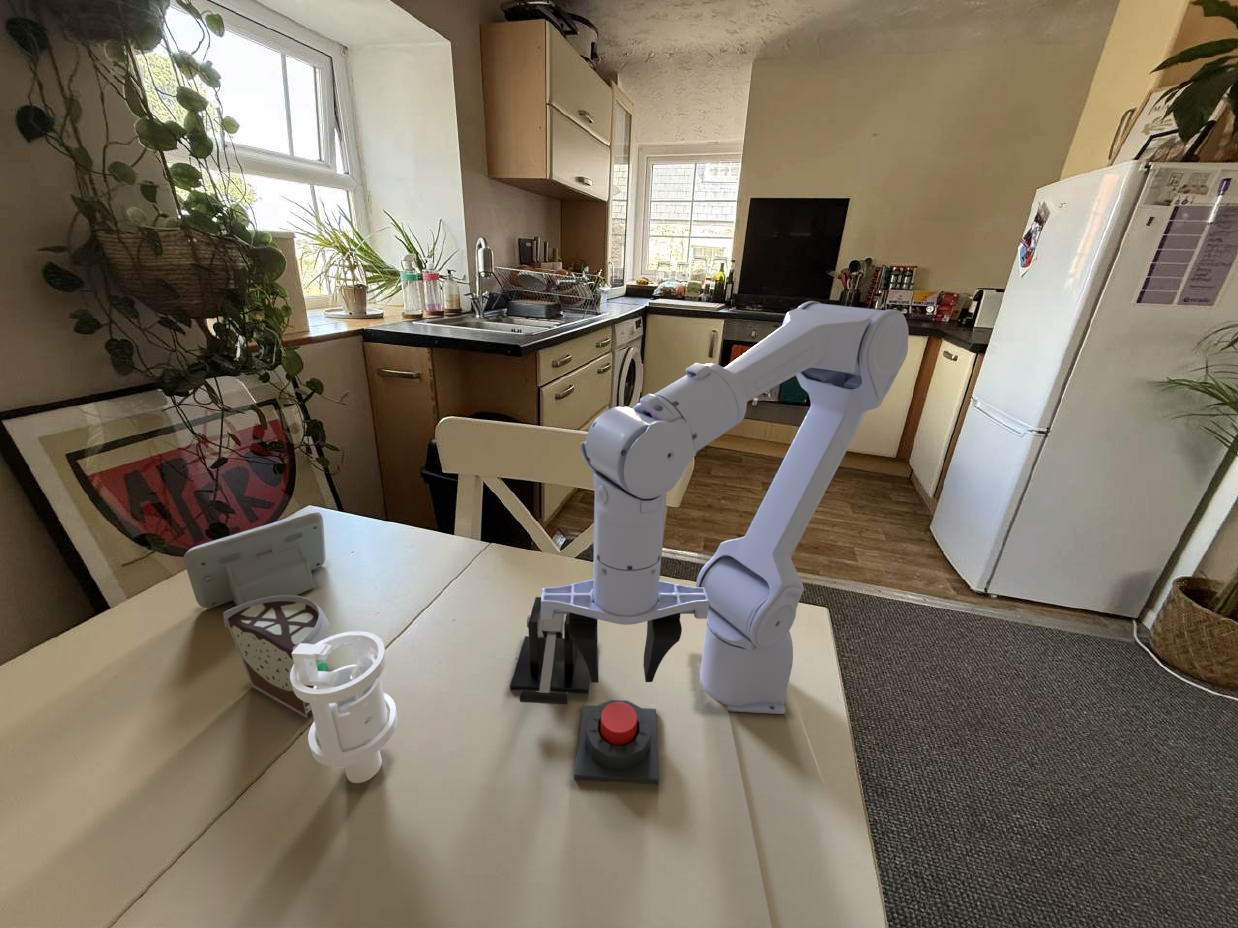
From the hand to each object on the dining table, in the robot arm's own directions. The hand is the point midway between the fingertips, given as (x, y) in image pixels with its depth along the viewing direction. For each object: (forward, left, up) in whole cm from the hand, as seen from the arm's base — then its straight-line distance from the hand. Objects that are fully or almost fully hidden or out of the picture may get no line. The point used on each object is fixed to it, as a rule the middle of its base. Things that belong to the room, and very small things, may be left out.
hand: (621, 674), depth 47 cm
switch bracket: (+8, -10, -10) cm, 16 cm away
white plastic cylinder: (+24, +4, -10) cm, 26 cm away
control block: (0, 0, -10) cm, 10 cm away
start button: (0, 0, -7) cm, 7 cm away
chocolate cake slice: (+36, -6, -10) cm, 38 cm away
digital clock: (+51, -22, -10) cm, 56 cm away
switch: (+8, -7, -6) cm, 12 cm away
